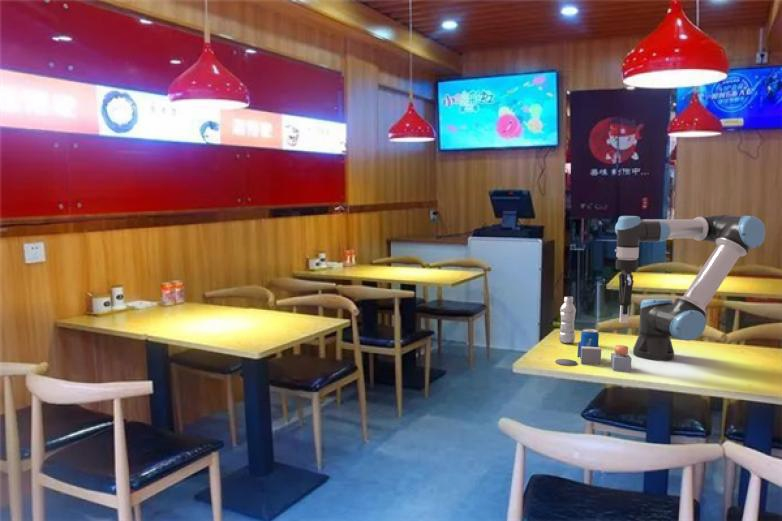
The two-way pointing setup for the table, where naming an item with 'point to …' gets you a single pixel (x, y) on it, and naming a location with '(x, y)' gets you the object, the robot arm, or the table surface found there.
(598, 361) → the cradle
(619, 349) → the plunger
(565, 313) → the plastic bottle
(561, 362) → the pad
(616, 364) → the block
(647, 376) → the table surface
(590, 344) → the beverage can
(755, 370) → the table surface
